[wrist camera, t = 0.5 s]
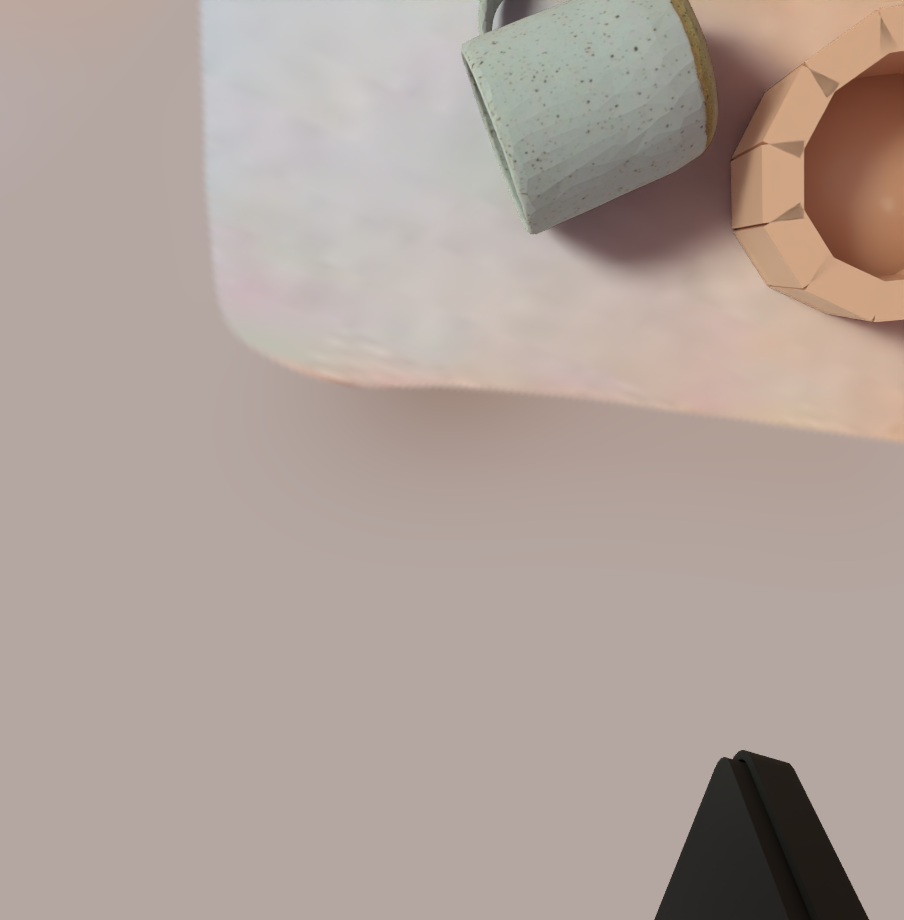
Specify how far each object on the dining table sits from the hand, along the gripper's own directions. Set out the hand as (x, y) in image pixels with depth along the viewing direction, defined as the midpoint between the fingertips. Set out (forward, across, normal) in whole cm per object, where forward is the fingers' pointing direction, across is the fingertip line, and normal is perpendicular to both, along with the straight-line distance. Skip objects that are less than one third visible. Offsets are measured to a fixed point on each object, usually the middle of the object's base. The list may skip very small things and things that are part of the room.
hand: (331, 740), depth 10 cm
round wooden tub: (+29, -13, -13) cm, 35 cm away
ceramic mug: (+30, 0, -13) cm, 32 cm away
